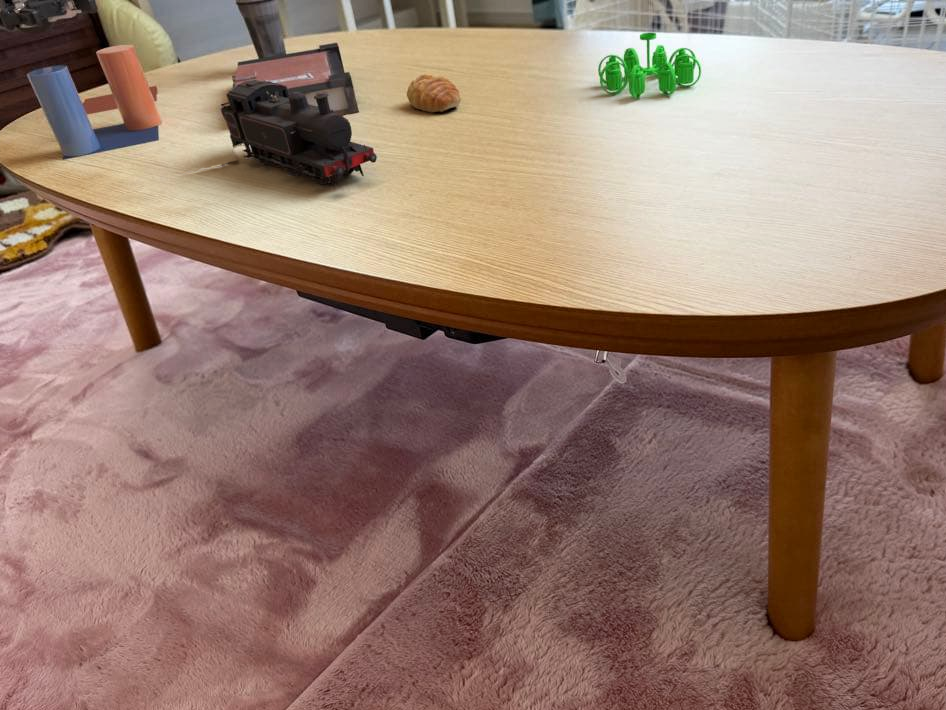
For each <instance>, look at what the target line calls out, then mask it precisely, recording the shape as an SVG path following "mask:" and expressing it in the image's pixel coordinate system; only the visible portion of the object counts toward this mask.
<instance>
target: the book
mask: <svg viewBox="0 0 946 710" xmlns="http://www.w3.org/2000/svg"><path fill="white" fill-rule="evenodd" d="M342 59H343V58H342V55H341V51H340V46H339V44H338V42H332V43H326V44H319V45H318V48H314V49H309V50H303V51H296V52H291V53H286V54H284V55H278V56H272V57H266V58H260V59H259V58H255V59H248V60H243V61H238V62H237V67H236V73H235V74H234V75H231V80H232V89H233V88H234V87H236V86H237V85H239V84H241V83H243V82H245V81H253V80H256V81H268V82H272V83H277V84H281V85H283V86H286V87H287V91H288V94H289V97H290V96H291V94H292V93H293V92H297V91H298V92H301V93H303V94H304V95H305V96H306V99H307V102H308V104H310V105H314V106H318V105H317V101H316V99H315V98H314V96H316V95H317V94H321V93H326V94H328V97H327V98H328V102H329V107H330V110H333V113H335V114H339V115H341V116H344V115H350V114H357V113H359V112H360V110H359V106H358V101H357V97H356V93H355V87H354V83H353V80H352V76H351V73H350V71H345V69H344V64H343V60H342ZM275 95H276V96H278V95H279V94H278V91H275ZM236 100H237V99H236ZM239 101H240V100H239Z"/></svg>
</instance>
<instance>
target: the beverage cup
mask: <svg viewBox="0 0 946 710" xmlns="http://www.w3.org/2000/svg"><path fill="white" fill-rule="evenodd" d="M235 5H237V8H238V11H239V13H240V15H241V17H242V19H243V21H244V23H245V26H246V28H247V32H248V35H249V36H250V39H251V42H252V45H253V47H254V50H255V53H256V55H257V59H260V58H266V57H272V56H278V55H284V54H287V51H286V50H287V49H286V45H285V41H284V40H285V38H284V35H283V29H282V24H281V19H280V13H279V11H280V10H279V1H278V0H235Z"/></svg>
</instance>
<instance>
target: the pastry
mask: <svg viewBox="0 0 946 710" xmlns="http://www.w3.org/2000/svg"><path fill="white" fill-rule="evenodd" d="M406 98H407V100H408V102H409V104H410V105H411V106H413V107H414V108H415V109H417V110H421V111H424V112H427V113H432V114H433V113H436V112H440V113H443V112H444V111H447V110H449V109H451V108H456V107H459V106H460V104H461V102H462V97H461V95H460V91H459V89H458V88H457V86H456V85H455V84H454V83H452V81H451V80H450V79H449V78H445V77H444V76H435V75H432V74H427V73H426V74H420V75H419V76H417V77H416V78H415V79H413V80H411V83H410V84H409V85H408V87H407V91H406Z"/></svg>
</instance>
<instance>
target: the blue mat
mask: <svg viewBox="0 0 946 710" xmlns="http://www.w3.org/2000/svg"><path fill="white" fill-rule="evenodd" d="M93 130H94V132H95V134H96V137H97V139H98V142H99V144H100V149H98V150H97V151H95V152H92V153H90V154H86V155H82V156H77V157H65V156H64V155H63V156H62V161H65V160H70V159H73V158H74V159H75V158H81V157H84V156H91V155H94V154H99V153H104V152H108V151H113V150H118V149H125V148H129V147H134V146H137V145H142V144H147V143H152V142H153V143H154V142H158V141H160V134H159V132H160V131H159V125H158V126H155V127H153V128H149V129H145V130H139V131H129V130H127V129H126V127H125V124H124V122H122V123H118V124H114V125H108V126H105V127H104V126H103V127H99V128H93Z"/></svg>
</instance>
